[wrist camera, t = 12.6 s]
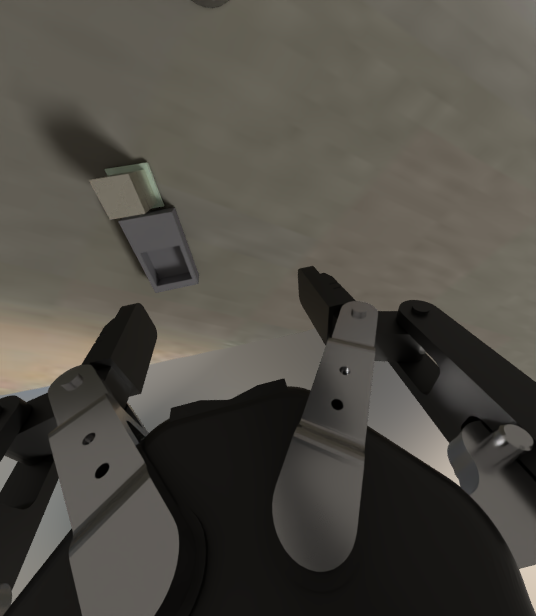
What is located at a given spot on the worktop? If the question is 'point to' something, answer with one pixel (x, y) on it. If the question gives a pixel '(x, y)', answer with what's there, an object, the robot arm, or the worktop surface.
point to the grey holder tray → (161, 249)
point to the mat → (149, 175)
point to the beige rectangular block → (124, 193)
